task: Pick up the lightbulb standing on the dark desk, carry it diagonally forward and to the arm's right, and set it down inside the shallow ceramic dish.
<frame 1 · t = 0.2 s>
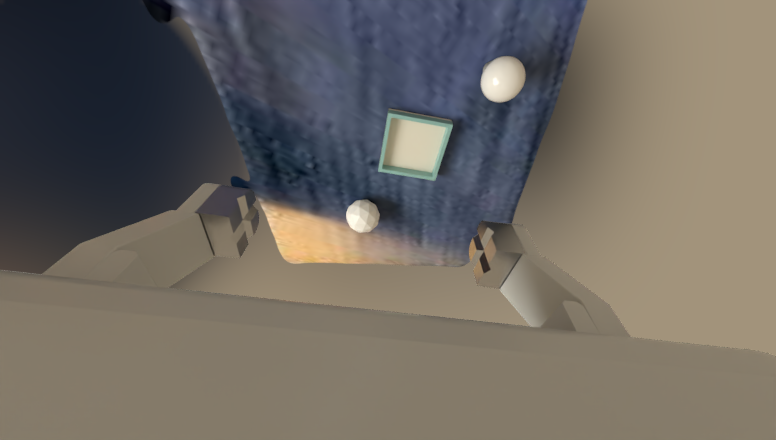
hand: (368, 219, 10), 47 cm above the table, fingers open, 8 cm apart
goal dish: (412, 143, 58), on the table
geometric ball: (364, 206, 69), on the table
lightbulb: (489, 68, 49), on the table
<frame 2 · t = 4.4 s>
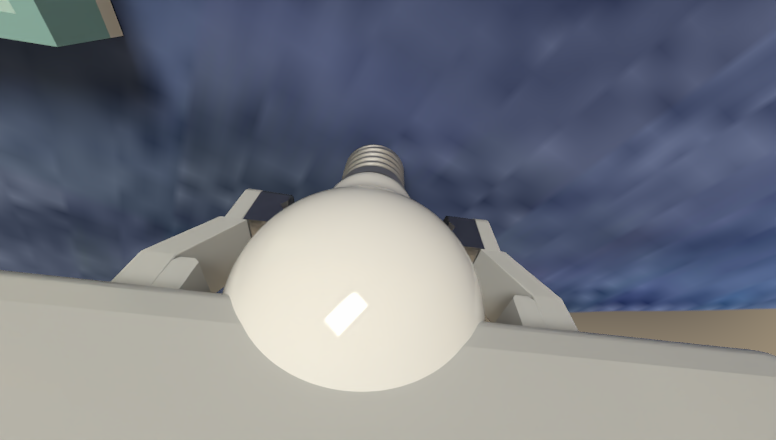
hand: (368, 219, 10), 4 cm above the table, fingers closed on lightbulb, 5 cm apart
lightbulb: (375, 162, 14), on the table, touching gripper
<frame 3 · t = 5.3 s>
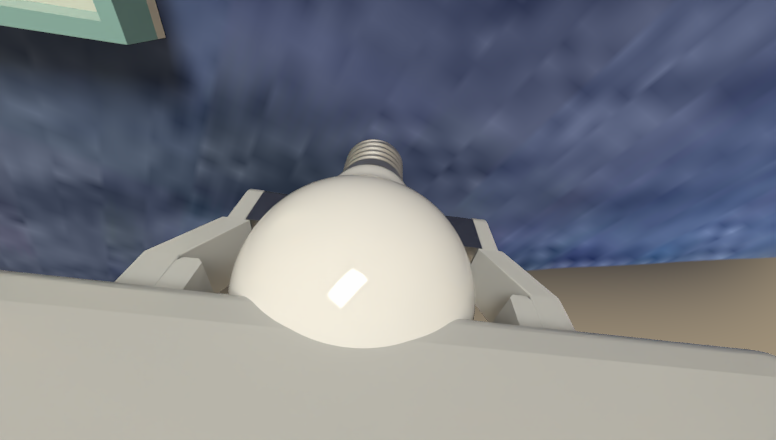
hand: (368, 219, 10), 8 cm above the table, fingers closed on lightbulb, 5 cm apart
lightbulb: (375, 157, 14), point 3 cm above the table, touching gripper
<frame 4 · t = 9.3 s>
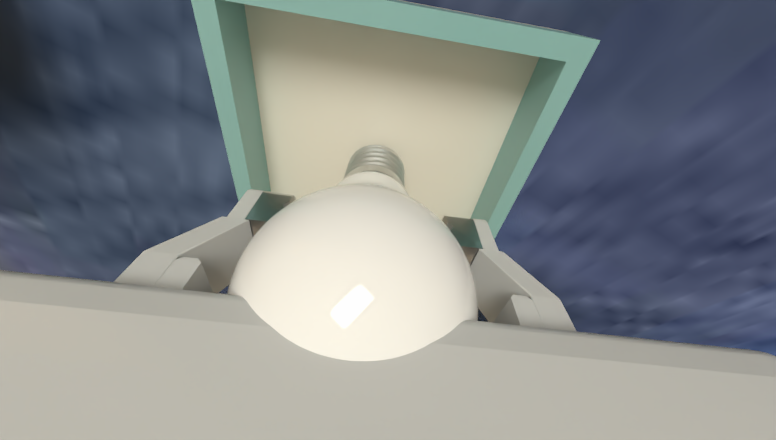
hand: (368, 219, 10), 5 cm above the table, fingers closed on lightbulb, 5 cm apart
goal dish: (379, 154, 14), on the table
lightbulb: (377, 162, 14), resting on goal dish, touching gripper
when the fingers open (5 cm above the table, at t = 10.7 s): lightbulb stays where it is, resting on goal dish.
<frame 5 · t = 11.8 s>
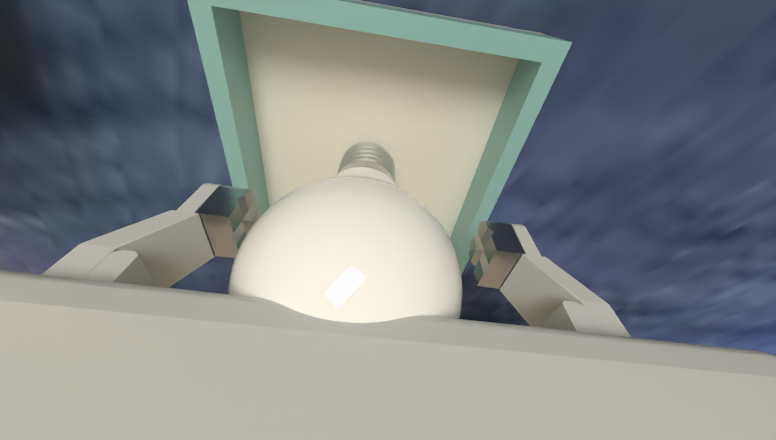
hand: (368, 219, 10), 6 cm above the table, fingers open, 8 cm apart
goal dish: (371, 152, 15), on the table
lightbulb: (368, 160, 15), resting on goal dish
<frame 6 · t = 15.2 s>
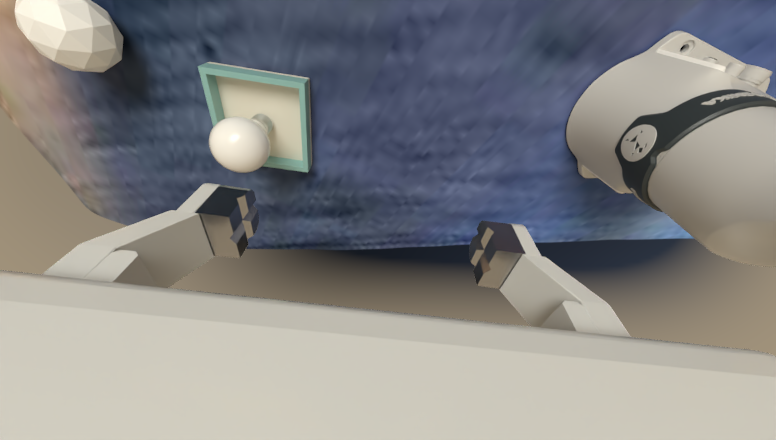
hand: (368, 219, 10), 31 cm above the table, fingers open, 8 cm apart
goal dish: (266, 118, 40), on the table
geometric ball: (103, 27, 33), on the table
lightbulb: (264, 121, 39), resting on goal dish
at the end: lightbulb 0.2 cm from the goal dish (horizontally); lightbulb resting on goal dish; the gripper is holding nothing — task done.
